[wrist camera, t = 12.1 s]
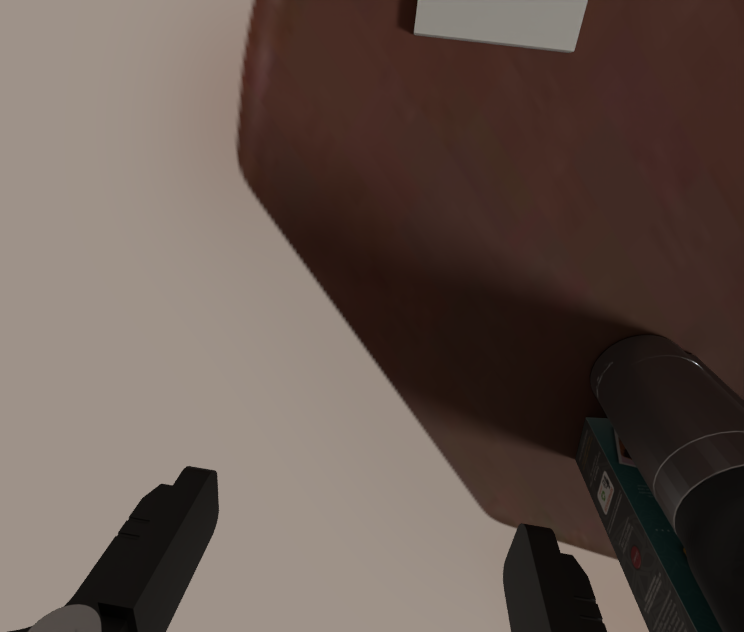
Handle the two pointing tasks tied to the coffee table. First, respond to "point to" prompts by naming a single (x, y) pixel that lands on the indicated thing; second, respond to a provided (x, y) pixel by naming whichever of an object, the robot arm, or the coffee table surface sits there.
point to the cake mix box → (641, 535)
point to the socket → (504, 22)
